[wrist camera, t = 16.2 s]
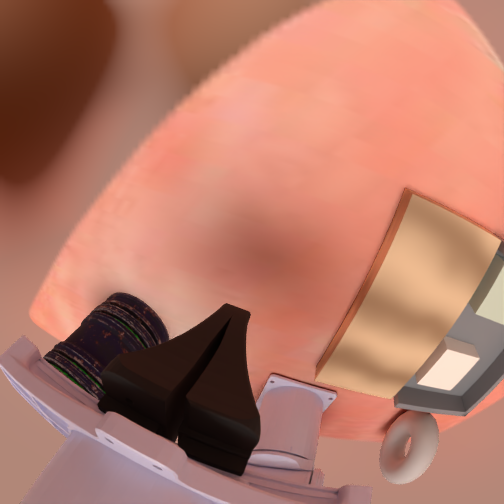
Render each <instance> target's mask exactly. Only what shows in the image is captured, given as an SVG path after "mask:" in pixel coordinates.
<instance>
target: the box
mask: <svg viewBox="0 0 504 504" xmlns="http://www.w3.org/2000/svg"><path fill="white" fill-rule="evenodd" d="M493 234H494V233H493ZM494 235H495V236H496V237H498V238H499V239H500V240H501V243H500V245H499V247H498V249H497V252H496V253H497V254H499V255H500V256H502V257H504V239H502V238H500V237H499V236H497V235H496V234H494ZM446 336H447V337H450V338H453V339H456V340H459V341H462V342H466V343H469V344H472V345H474V346H475V348H476V351H477V353H478V355H479V358H480V359H479V360H478V361H477V362H476V364H475V365H474V366H473V367H472V368H471V369H470V370H469V371H468V373H467V374H466V375H465V376H464V377H463V378H462V379H461V380H460V381H459V382H458V383H457V384H456V385H455V386H454V387H453V388H452V389H451V390H444V389H439V388H434V387H429V386H425V385H420V384H417V381H416V375H415V374H414V375H413V376H412V377H411V379H410V380H409V381H408V382H407V383H406V384H405V385H404V386H403V387H402V388H401V389H400V390H399V391H398V393H397V394H396V395H395V396H394V407H396V408H402V409H408V410H415V411H422V412H429V413H437V414H446V415H456V416H466V415H467V414H468V413H469V412H470V411H471V410H473V409H474V408H475V407H476V406H477V405H478V404H479V403H480V402H481V401H482V400H483V399H484V398H485V397H486V396H487V395H488V394H489V393H490V392H491V391H492V390H493V389H494V388H495V387H496V386H497V385H498V384H499V383H500V382H501V381H502V380H503V379H504V325H503V324H500V323H497V322H495V321H492V320H490V319H487V318H485V317H482V316H479V315H477V314H475V313H474V311H473V309H472V307H471V306H470V304H469V302H468V303H467V305H466V307H465V308H464V310H463V311H462V313H461V314H460V316H459V317H458V319H457V320H456V322H455V323H454V324H453V326H452V327H451V329H450V330H449V331H448V333H447V334H446Z"/></svg>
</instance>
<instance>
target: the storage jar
mask: <svg viewBox="0 0 504 504" xmlns="http://www.w3.org/2000/svg"><path fill="white" fill-rule="evenodd" d="M166 341H169V336H168V333H167V330H166V328H165V326H164V324H163V322H162V321H161V319H160V318H159V317H158V315H157V314H156V313H155V312H154V311H153V310H152V309H151V308H150V307H149V306H148V305H147V304H146V303H144V302H143V301H141V300H140V299H138V298H136V297H134V296H132V295H130V294H126V293H115V294H113V295H111V296H110V297H109V298H108V299H107V300H106V301H105V302H103V303H102V304H101V305H99V306H97V307H96V308H95V309H94V310H93V311H92V312H91V313H90V314H89V315H88V316H87V317H86V318H85V319H84V320H83V321H82V323H81V326H80V327H79V328H78V329H77V330H76V331H74V332H73V333H72V334H71V335H70V336H69V337H68V338H67V339H66V340H65V341H63V342H60V343H59V344H57V345H55V346H54V348H53V349H52V350H51V351H49V352H48V353H47V354H46V355H45V356H44V357H43V359H44V360H46V361H47V362H48V363H49V364H50V365H52V366H53V367H54V368H55V369H57V370H58V371H59V372H60V373H62V374H63V375H64V376H65V377H67V378H68V379H69V380H71V381H72V382H73V383H75V384H76V385H77V386H79V387H80V388H82V389H83V390H84V391H86V392H87V393H89V394H90V395H92V396H93V397H95V398H96V399H98V400H99V401H100V399H101V398H102V397H103V396H104V394H105V390H104V387H103V384H102V381H101V373H102V371H103V370H104V369H105V368H106V366H107V365H108V364H109V363H110V362H111V361H112V360H113V359H114V358H115V357H116V356H118V355H119V354H122V353H128V352H134V351H138V350H142V349H146V348H149V347H152V346H156V345H159V344H161V343H164V342H166Z"/></svg>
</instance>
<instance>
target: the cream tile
mask: <svg viewBox="0 0 504 504" xmlns="http://www.w3.org/2000/svg"><path fill="white" fill-rule="evenodd" d="M479 359H480V358H479V355H478V353H477V351H476V348H475V346H474V345H472V344H469V343H466V342H462V341H459V340H456V339H453V338H450V337H447V336H445V337H444V338H443V340H442V341H441V342H440V344H439V345H438V346H437V347H436V349H435V350H434V351H433V353H432V354H431V355H430V356H429V358H428V359H427V360H426V361H425V362H424V364H423V365H422V366H421V367H420V368H419V369H418V371H417V372H416V373H415V375H416V381H417V384H420V385H425V386H429V387H434V388H439V389H444V390H451V389H452V388H453V387H454V386H455V385H456V384H457V383H458V382H459V381H460V380H461V379H462V378H463V377H464V376H465V375H466V374H467V373H468V371H469V370H470V369H471V368H472V367H473V366H474V365H475V364H476V362H477V361H478V360H479Z"/></svg>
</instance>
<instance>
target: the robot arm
mask: <svg viewBox="0 0 504 504" xmlns="http://www.w3.org/2000/svg"><path fill="white" fill-rule="evenodd" d="M250 315H251V314H250V312H249V311H246V310H243V309H241V308H238V307H235V306H233V305H230V304H227V303H226V304H224V305H223V306H222V307H221V308H219V309H218V310H217V311H216V312H215V313H213V314H212V315H211V316H210V317H208V318H207V319H205V320H204V321H203V322H201V323H200V324H198V325H197V326H195V327H193V328H192V329H190V330H189V331H187V332H185V333H183V334H181V335H179V336H177V337H175V338H173V339H171V340H169V341H166V342H164V343H161V344H159V345H156V346H152V347H149V348H146V349H142V350H138V351H134V352H128V353H122V354H119V355H118V356H116V357H115V358H114V359H113V360H112V361H111V362H110V363H109V364H108V365H107V366H106V368H105V369H104V370H103V371H102V373H101V381H102V384H103V387H104V390H105V394H104V396H103V397H102V398H101V399H100V401H99V400H98V399H96V398H95V397H93V396H92V395H90V394H89V393H87V392H86V391H84V390H83V389H82V388H80V387H79V386H77V385H76V384H75V383H73V382H72V381H71V380H69V379H68V378H67V377H65V376H64V375H63V374H62V373H60V372H59V371H58V370H57V369H55V368H54V367H53V366H52V365H50V364H49V363H48V362H47V361H46V360H44V359H43V358H42V357H41V354H40V352H39V350H38V348H37V347H36V346H35V345H34V344H33V343H32V342H31V341H30V340H29V339H28V338H27V337H25V335H23V336H22V337H21V338H19V339H18V340H17V341H16V342H15V343H14V344H13V345H12V346H11V347H10V348H8V349H7V350H6V351H5V352H4V353H3V354H2V355H1V356H0V367H1V369H2V371H3V372H4V374H5V375H6V377H7V378H8V380H9V381H10V383H11V384H12V386H13V387H14V388H15V389H16V390H17V391H18V393H19V394H20V395H21V396H22V397H23V398H24V399H25V400H26V401H27V402H28V403H29V404H30V405H31V406H32V407H33V408H34V409H35V410H36V411H37V412H38V413H39V414H40V415H41V416H43V417H44V418H45V419H46V420H47V421H48V422H49V423H50V424H51V425H52V426H53V427H54V428H56V429H57V430H58V431H59V432H60V433H61V434H62V435H64V436H65V437H66V438H67V439H66V440H65V442H64V443H63V444H62V446H61V447H60V448H59V450H58V451H57V452H56V454H55V455H54V456H53V458H52V459H51V460H50V462H49V463H48V465H47V466H46V467H45V469H44V470H43V471H42V473H41V474H40V475H39V477H38V478H37V480H36V481H35V483H34V484H33V485H32V487H31V488H30V489H29V491H28V492H27V494H26V495H25V496H24V498H23V500H22V501H21V502H20V504H371V496H372V486H365V485H345V486H342V487H341V488H339V489H338V488H330V487H323V482H324V473H323V472H322V471H321V469H314V461H315V456H316V450H317V445H318V438H319V432H320V426H321V419H322V413H323V412H324V411H325V410H326V409H327V408H328V407H329V405H330V404H331V403H332V402H333V401H334V400H335V398H336V397H337V393H336V392H333V391H330V390H326V389H322V388H318V387H315V386H311V385H308V384H304V383H301V382H298V381H295V380H291V379H288V378H285V377H282V376H279V375H276V374H272V375H270V377H269V379H268V381H267V383H266V385H265V387H264V389H263V391H262V393H261V394H260V396H259V398H258V400H257V402H256V403H255V400H254V397H253V393H252V389H251V385H250V381H249V376H248V369H247V360H246V332H247V325H248V321H249V318H250ZM177 437H178V444H177V443H175V441H176V439H177Z"/></svg>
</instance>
